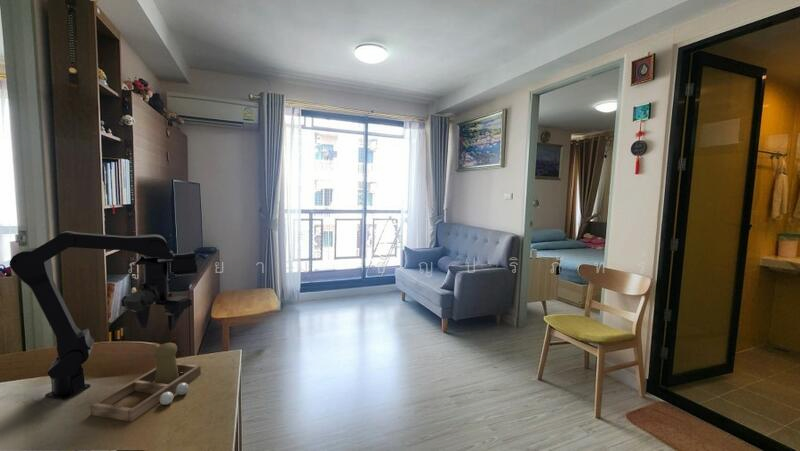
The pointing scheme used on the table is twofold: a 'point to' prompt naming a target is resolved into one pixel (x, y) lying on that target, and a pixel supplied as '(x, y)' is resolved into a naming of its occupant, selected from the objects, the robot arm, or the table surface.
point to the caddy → (141, 385)
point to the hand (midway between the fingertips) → (157, 329)
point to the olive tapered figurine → (166, 363)
